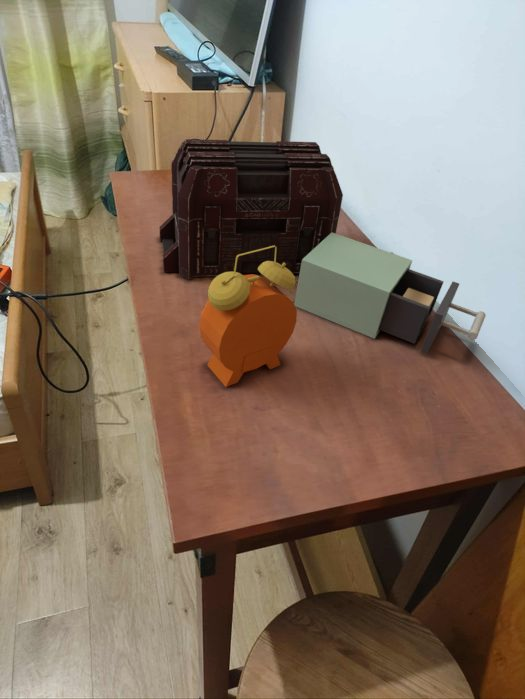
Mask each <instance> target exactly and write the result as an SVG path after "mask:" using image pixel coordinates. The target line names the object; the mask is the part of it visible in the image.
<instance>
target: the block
mask: <svg viewBox="0 0 525 699" xmlns="http://www.w3.org/2000/svg"><path fill="white" fill-rule="evenodd" d="M403 297H405V298H408V299H411V300H413V301H416V302H419V303H421V304H424V305H427V306H429V309H430V307H431V304H432V302H433V299H434V297H433V296H430V295H427V294H424V293H422V292H419V291H416V290H413V289H411V288H408V289H407V291H406V292H405V294H404V295H403ZM429 309H428V312H429ZM428 312H427V315H428ZM427 315H426V317H427ZM426 317H425V319H426ZM424 321H425V320H424ZM423 323H424V322H423Z"/></svg>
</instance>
